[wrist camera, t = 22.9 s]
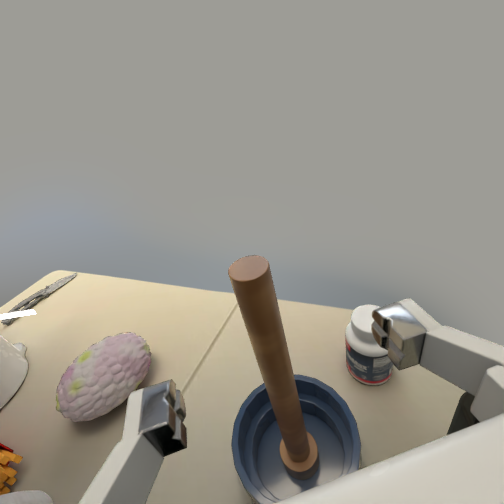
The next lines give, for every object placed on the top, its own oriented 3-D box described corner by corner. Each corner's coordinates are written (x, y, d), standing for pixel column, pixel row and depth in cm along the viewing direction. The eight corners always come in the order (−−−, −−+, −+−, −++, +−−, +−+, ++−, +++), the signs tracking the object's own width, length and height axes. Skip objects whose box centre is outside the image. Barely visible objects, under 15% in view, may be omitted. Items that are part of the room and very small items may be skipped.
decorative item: (165, 338, 39) (88, 328, 33) (144, 427, 36) (54, 435, 30) (140, 332, 46) (72, 323, 40) (121, 407, 42) (43, 410, 36)
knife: (80, 272, 69) (72, 268, 70) (2, 323, 57) (-6, 317, 58) (82, 277, 70) (74, 272, 71) (6, 328, 58) (-2, 321, 59)
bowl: (240, 534, 25) (222, 513, 21) (251, 405, 34) (239, 376, 30) (374, 543, 22) (377, 521, 19) (347, 402, 32) (345, 372, 28)
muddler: (282, 479, 26) (208, 294, 14) (282, 437, 29) (221, 252, 16) (321, 480, 26) (282, 286, 13) (317, 437, 29) (282, 244, 16)
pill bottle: (338, 358, 36) (334, 310, 32) (372, 342, 37) (373, 293, 32) (364, 394, 32) (365, 345, 27) (402, 375, 33) (409, 324, 28)
